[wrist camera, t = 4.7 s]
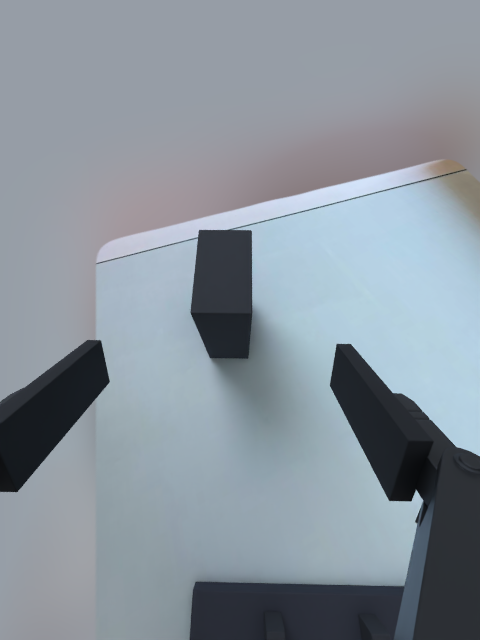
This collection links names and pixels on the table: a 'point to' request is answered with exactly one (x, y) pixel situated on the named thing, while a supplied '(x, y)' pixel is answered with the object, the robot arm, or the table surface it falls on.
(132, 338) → the table surface
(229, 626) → the base pad
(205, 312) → the black block
